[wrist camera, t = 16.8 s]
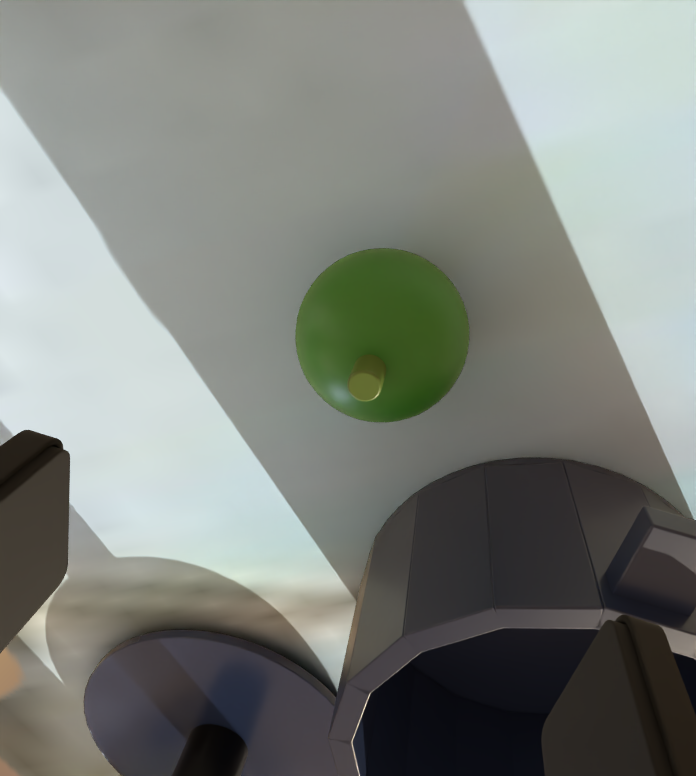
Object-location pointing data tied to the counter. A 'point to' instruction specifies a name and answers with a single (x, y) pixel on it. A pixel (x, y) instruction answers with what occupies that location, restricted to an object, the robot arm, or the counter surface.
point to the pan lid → (207, 709)
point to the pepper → (382, 335)
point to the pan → (501, 613)
